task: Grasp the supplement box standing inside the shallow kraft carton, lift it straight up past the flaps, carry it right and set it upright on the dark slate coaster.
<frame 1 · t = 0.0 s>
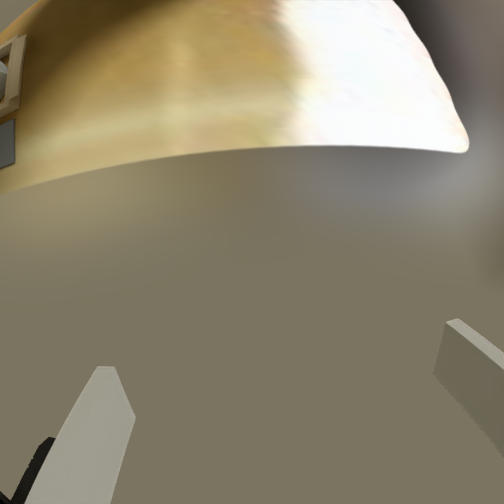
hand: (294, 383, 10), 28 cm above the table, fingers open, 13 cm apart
coaster: (0, 146, 31), on the table
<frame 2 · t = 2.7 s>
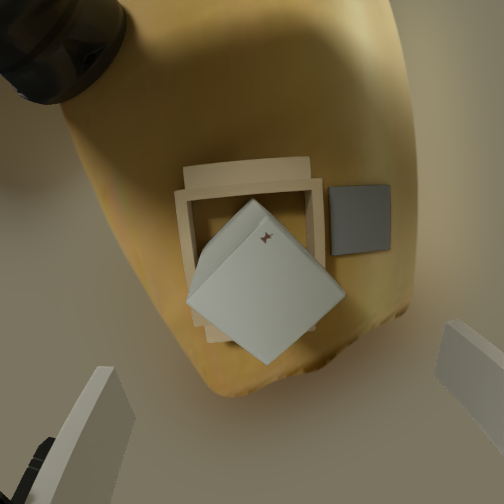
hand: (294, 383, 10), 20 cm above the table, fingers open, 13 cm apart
supplement box: (252, 247, 30), resting in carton
coaster: (360, 218, 30), on the table
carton: (252, 248, 30), on the table
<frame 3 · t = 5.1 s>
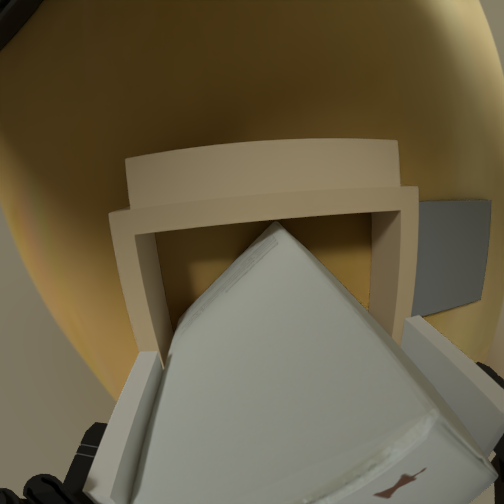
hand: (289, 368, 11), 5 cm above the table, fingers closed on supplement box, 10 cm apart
supplement box: (273, 313, 16), resting in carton, touching gripper
coaster: (450, 255, 15), on the table
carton: (273, 315, 15), on the table
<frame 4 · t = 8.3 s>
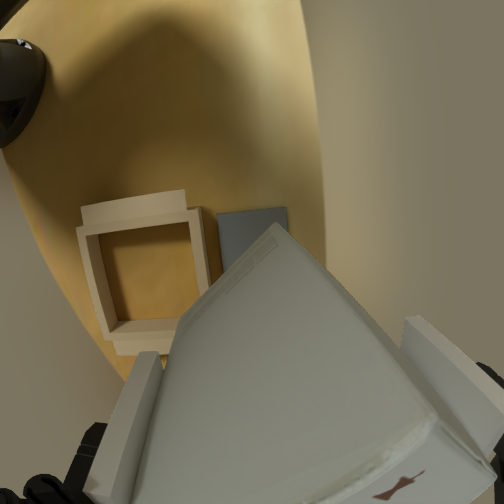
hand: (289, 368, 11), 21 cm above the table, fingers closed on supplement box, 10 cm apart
supplement box: (273, 314, 16), point 16 cm above the table, touching gripper
coaster: (254, 243, 31), on the table
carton: (150, 273, 31), on the table
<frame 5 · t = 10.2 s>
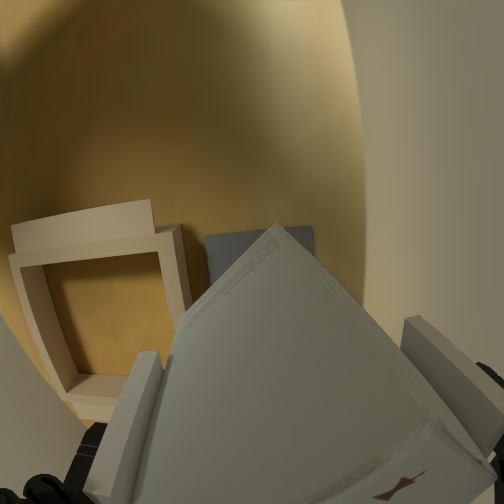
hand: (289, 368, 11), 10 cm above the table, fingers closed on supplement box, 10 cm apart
supplement box: (273, 314, 16), point 5 cm above the table, touching gripper
coaster: (262, 280, 20), on the table
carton: (113, 318, 20), on the table
when the fingers open (7 cm above the table, at t = 11.8 s): supplement box drops 1 cm, resting on coaster.
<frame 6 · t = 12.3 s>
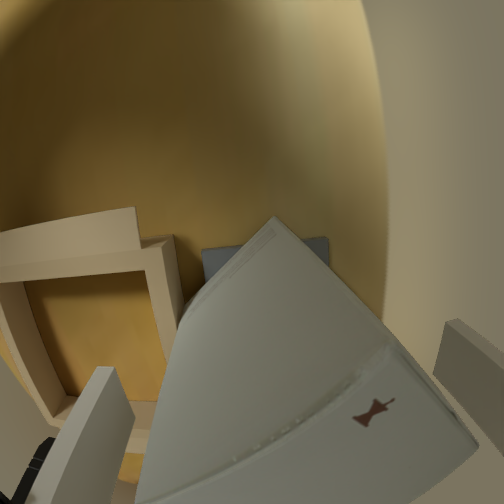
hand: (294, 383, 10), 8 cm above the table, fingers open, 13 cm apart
supplement box: (271, 301, 17), resting on coaster
coaster: (269, 300, 17), on the table
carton: (99, 340, 17), on the table
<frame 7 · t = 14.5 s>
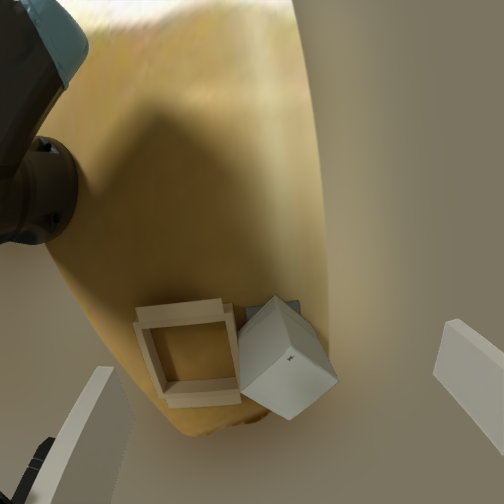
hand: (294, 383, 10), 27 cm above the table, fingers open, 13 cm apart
supplement box: (275, 328, 39), resting on coaster
coaster: (274, 327, 39), on the table
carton: (193, 349, 40), on the table
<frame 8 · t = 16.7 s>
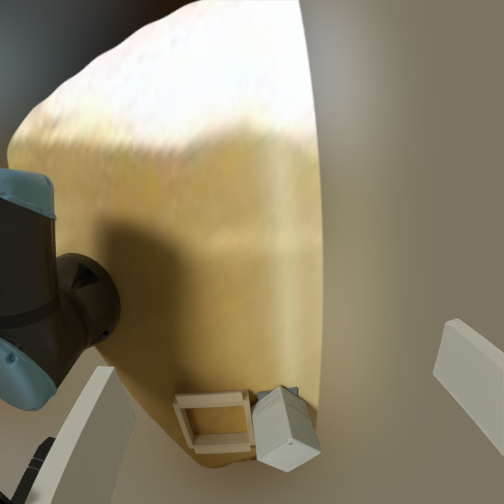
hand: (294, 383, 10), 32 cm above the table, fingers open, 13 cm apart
supplement box: (278, 404, 49), resting on coaster
coaster: (277, 403, 49), on the table
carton: (216, 416, 49), on the table
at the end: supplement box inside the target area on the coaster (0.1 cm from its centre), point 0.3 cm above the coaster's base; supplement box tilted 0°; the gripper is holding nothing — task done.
